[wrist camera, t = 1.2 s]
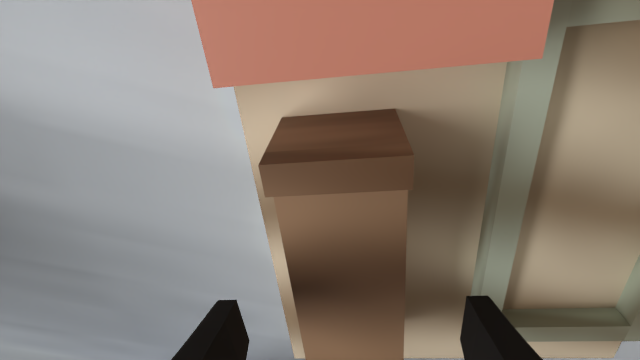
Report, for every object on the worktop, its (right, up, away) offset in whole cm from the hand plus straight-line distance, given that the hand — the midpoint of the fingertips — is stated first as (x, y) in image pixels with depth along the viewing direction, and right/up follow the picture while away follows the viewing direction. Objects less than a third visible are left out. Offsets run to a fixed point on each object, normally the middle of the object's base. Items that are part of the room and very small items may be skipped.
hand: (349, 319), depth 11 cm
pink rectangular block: (0, +10, -1) cm, 10 cm away
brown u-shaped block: (0, +2, +4) cm, 4 cm away
